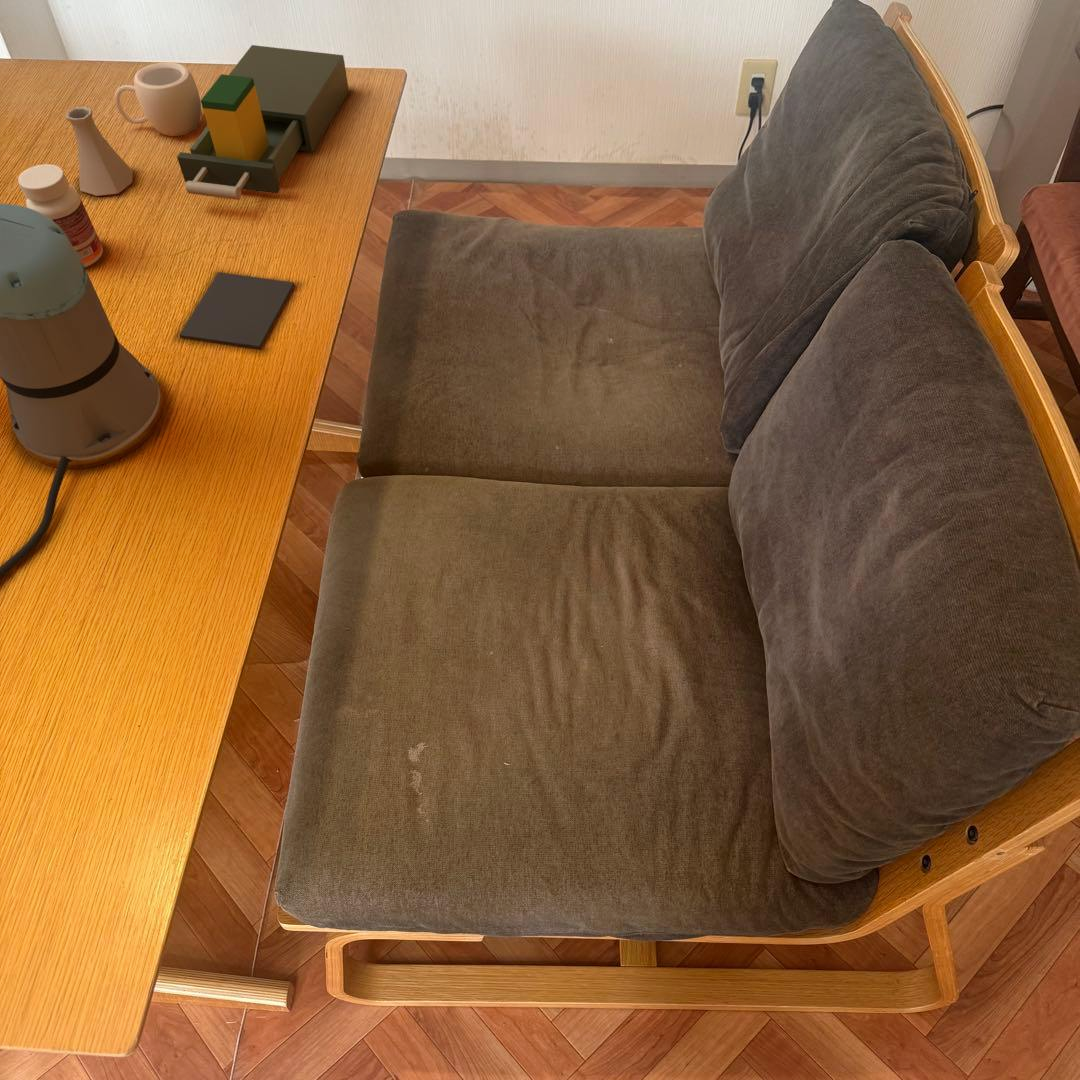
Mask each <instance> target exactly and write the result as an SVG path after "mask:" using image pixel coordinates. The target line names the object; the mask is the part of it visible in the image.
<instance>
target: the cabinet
mask: <svg viewBox="0 0 1080 1080" xmlns="http://www.w3.org/2000/svg"><path fill="white" fill-rule="evenodd" d="M228 75H232V76H240V77H249V78H253V80H254V84H255V88H256V93H257V97H258V101H259V105H260V109H261V113H262V115H265V116H274V117H282V118H291V119H299V120H301V124H302V129H303V134H304V141H303V143H302V144H301V146H300V147H299V149H298V151H299V152H309V153H313V152H314V150H315V149H316V147H317V145H318V144H319V142H320V140H321V139H322V137H323V135H324V133H325V132H326V130H327V128H328V127H329V125H330V124H331V122H332V120H333V119H334V117H335V116H336V115H337V112H338V111H339V109H340V107H341V106H342V104H343V102H344V100H345V99H346V97H347V95H349V92H350V90H349V82H348V76H347V70H346V64H345V57H344V55H343V54H337V53H328V52H327V53H326V52H318V51H309V50H300V49H292V48H291V49H290V48H283V47H274V46H273V47H272V46H266V45H265V46H264V45H255V44H251V45H250V47H249V48H248V49H247V50H246V52H245V53H244V55H243V56H242V57H241V58H240V59H239V61H238V62H237V64H236V65H235V66H234V67H233V69H232V70H231V71H230V72H229V73H228Z"/></svg>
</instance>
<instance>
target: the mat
mask: <svg viewBox="0 0 1080 1080" xmlns="http://www.w3.org/2000/svg"><path fill="white" fill-rule="evenodd" d="M295 285H296V284H295V282H293V281H286V280H280V279H279V280H278V279H272V278H264V277H256V276H251V275H242V274H235V273H227V272H217V274H216V276H215V277H214V278H213V280H212V282H211V283H210V285H209V287H208V288H207V290H206V291H205V292H204V295H203V297H202V298H201V299H200V301H199V303H198V304H197V305H196V307H195V308H194V311H193V312H192V314H191V315H190V317H189V318H188V320H187V322H186V323H185V325H184V326H183V328H182V330H181V331H180V333H179V338H180V339H186V340H193V341H201V342H206V343H214V344H220V345H226V346H228V345H229V346H234V347H241V348H247V349H255V350H261V349H262V347H263V345H264V343H265V341H266V339H268V338H267V337H268V336H269V334H270V332H271V330H272V328H273V327H274V325H275V323H276V321H277V319H278V318H279V315H280V314H281V312H282V310H283V308H284V306H285V304H286V302H287V301H288V299H289V297H290V295H291V293H292V292H293V290H294V288H295Z"/></svg>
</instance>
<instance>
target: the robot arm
mask: <svg viewBox="0 0 1080 1080" xmlns="http://www.w3.org/2000/svg"><path fill="white" fill-rule="evenodd" d="M97 293H98V292H97V291H96V290H95V286H94V284H93V282H92V280H91V278H90V276H89V273H88V271H87V267H85V265H84V263H83V262H82V260H81V257H80V255H79V254H78V252H77V251H76V250H75V249H74V248H73V246H72V245H71V243H70V241H69V239H68V237H67V236H66V234H65V233H64V231H63V230H62V229H61V228H60V227H59V226H58V225H57V224H56V223H55V222H54V221H53V220H51V219H50V218H48V217H47V216H45V215H43V214H41V213H39V212H37V211H35V210H32V209H29V208H27V207H26V206H23V205H17V204H11V203H0V379H1V381H2V383H3V384H4V385H5V390H6V398H7V402H8V403H7V404H8V408H9V411H10V421H11V426H12V431H13V434H14V436H15V437H16V438H17V440H18V441H19V443H20V445H21V446H22V448H23V449H24V450H25V452H26V453H27V454H28V455H29V456H30V457H32V458H33V459H34V460H36V461H37V462H39V463H42V464H44V465H48V466H51V467H55V468H56V471H55V473H54V476H53V479H52V483H51V486H50V489H49V491H48V495H47V499H46V503H45V507H44V513H43V516H42V519H41V522H40V523H39V525H38V527H37V528H36V530H35V532H34V533H33V535H32V536H31V537H30V538H29V540H28V541H27V542H26V543H25V544H24V545H23V546H22V547H21V548H20V549H19V550H18V551H17V552H15V554H13V555H12V556H11V557H10V558H9V559H7V560H6V561H5V562H3V564H1V565H0V580H1V579H2V578H3V577H4V576H6V574H8V572H10V571H11V570H12V569H13V568H14V567H16V566H17V565H18V564H19V563H20V562H22V561H23V560H24V559H25V558H26V557H27V556H28V555H29V554H30V553H31V552H32V551H33V550H34V549H36V547H37V546H38V545H39V543H40V542H41V541H42V540H43V539H44V536H45V535H46V534H47V532H48V530H49V528H50V526H51V523H52V520H53V519H54V514H55V510H56V505H57V499H58V496H59V492H60V491H61V490H60V489H61V487H62V483H63V480H64V477H65V474H66V471H67V469H85V468H91V467H97V466H100V465H104V464H108V463H111V462H113V461H116V460H117V459H120V458H122V457H124V456H126V455H128V454H129V453H131V452H133V451H134V450H136V449H138V447H140V446H141V445H142V444H143V443H145V442H146V441H147V440H148V439H149V438H150V437H151V436H152V435H153V433H154V432H155V431H156V430H157V428H158V426H159V424H160V423H161V421H162V418H163V415H164V410H165V399H164V394H163V392H162V390H161V388H160V385H159V383H158V381H157V379H156V377H155V376H154V374H153V373H152V372H151V371H150V370H149V369H148V368H147V367H146V366H145V365H144V364H142V363H141V362H140V361H139V360H138V358H136V357H135V356H134V355H133V353H131V352H130V351H129V350H128V349H127V348H126V347H125V346H124V345H123V344H121V342H120V341H119V339H118V337H117V335H116V333H115V331H114V329H113V326H112V324H111V322H110V320H109V318H108V316H107V314H106V311H105V308H104V306H103V304H102V302H101V300H100V298H99V296H98V294H97Z"/></svg>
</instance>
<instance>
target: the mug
mask: <svg viewBox="0 0 1080 1080" xmlns="http://www.w3.org/2000/svg"><path fill="white" fill-rule="evenodd" d="M125 91H130V92H135V95H136V98H137V101H138V104H139V106H140V109H141V111H142V112H143V114H144V116H143V117H140V118H136V117H135V118H134V117H132V116H129V115H128V114H127V113H126V111H125V110H124V109H123V107H122V104H121V95H122V93H123V92H125ZM114 103H115V106H116V109H117V111H118V114H120V116H121V117H122V118H123V119H124V120H125V121H127V122H129V123H131V124H134V125H141V124H144V123H146V122H148V123H149V124H150V125H151V126H152V127H153V129H155V130H156V131H157V132H159V133H161V134H162V135H164V136H169V137H180V136H185V135H188V134H190V133H192V132H193V131H195V130H196V129H197V128H198V127H199V124H200V122H201V117H202V104H201V97H200V93H199V90H198V86H197V84H196V81H195V78H194V76H193V74H192V73H191V72H190V70H189V69H188V67H186V66H185V65H183V64H181V63H178V62H174V61H173V62H172V61H163V62H161V61H160V62H156V63H152V64H148V65H146V66H144V67H142V68H140V69H139V70H137V72H136V73H135V75H134V79H133V85H130V84H124V85H122V86H119V87H118V88H117V89H116V90H115V93H114Z"/></svg>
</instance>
